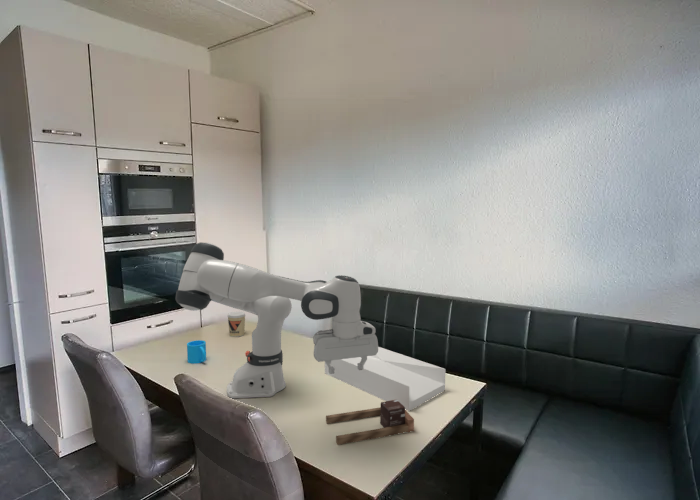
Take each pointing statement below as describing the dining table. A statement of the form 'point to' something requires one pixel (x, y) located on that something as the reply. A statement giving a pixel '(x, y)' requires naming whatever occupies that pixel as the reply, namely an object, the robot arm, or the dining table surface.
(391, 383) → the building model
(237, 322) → the coffee cup
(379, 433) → the guide channel
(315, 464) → the dining table surface
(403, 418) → the box
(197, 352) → the mug
